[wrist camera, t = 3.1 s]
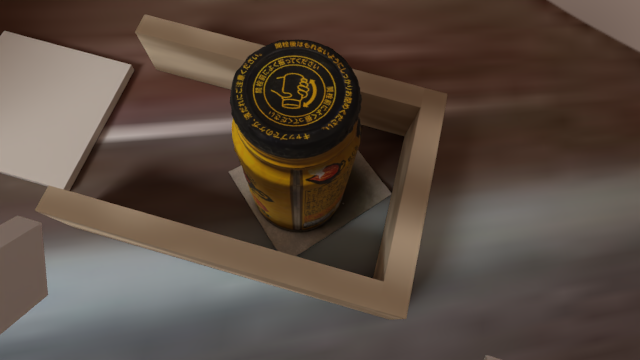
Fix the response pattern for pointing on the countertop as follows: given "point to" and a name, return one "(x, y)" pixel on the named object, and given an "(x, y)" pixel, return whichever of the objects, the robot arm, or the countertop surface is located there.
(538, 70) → the countertop surface
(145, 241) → the open wooden frame
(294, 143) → the condiment
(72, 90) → the trivet
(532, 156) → the countertop surface
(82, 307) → the countertop surface
